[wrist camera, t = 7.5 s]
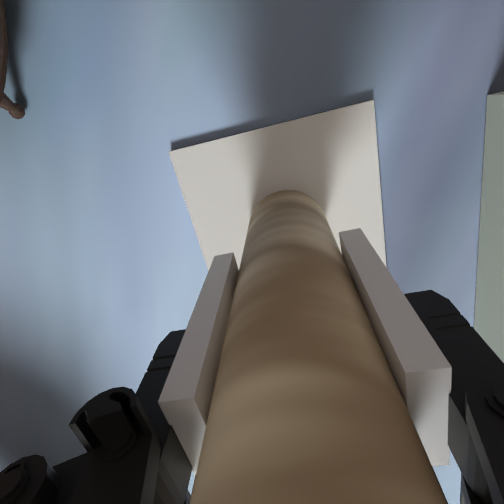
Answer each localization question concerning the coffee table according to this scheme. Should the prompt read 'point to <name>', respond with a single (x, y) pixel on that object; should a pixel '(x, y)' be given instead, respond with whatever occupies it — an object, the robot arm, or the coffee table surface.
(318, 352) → the peg
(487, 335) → the socket block
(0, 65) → the alarm clock
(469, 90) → the coffee table surface
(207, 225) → the coaster
